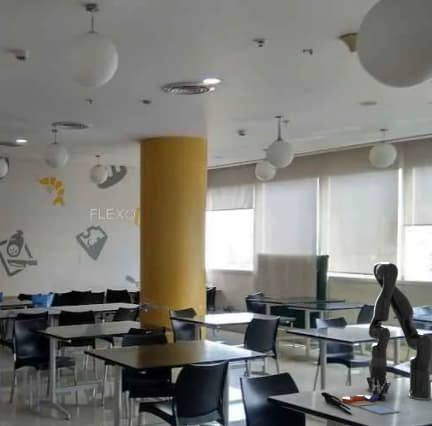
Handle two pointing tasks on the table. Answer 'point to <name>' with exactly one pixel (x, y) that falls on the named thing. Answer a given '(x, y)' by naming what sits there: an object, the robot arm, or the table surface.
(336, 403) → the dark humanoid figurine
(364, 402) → the terracotta mat
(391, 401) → the table surface
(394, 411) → the blue mat
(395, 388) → the table surface
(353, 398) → the terracotta spoon
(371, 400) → the blue spoon
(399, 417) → the table surface
